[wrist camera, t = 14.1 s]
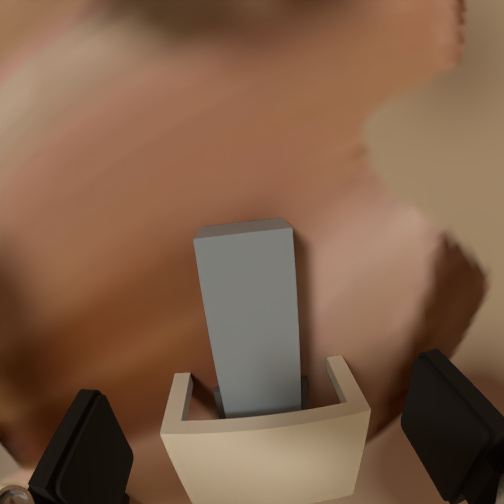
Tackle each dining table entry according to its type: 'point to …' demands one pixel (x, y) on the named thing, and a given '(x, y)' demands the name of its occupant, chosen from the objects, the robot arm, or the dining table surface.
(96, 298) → the dining table surface
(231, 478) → the low shelf
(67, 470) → the robot arm
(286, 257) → the grey rectangular block
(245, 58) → the dining table surface
